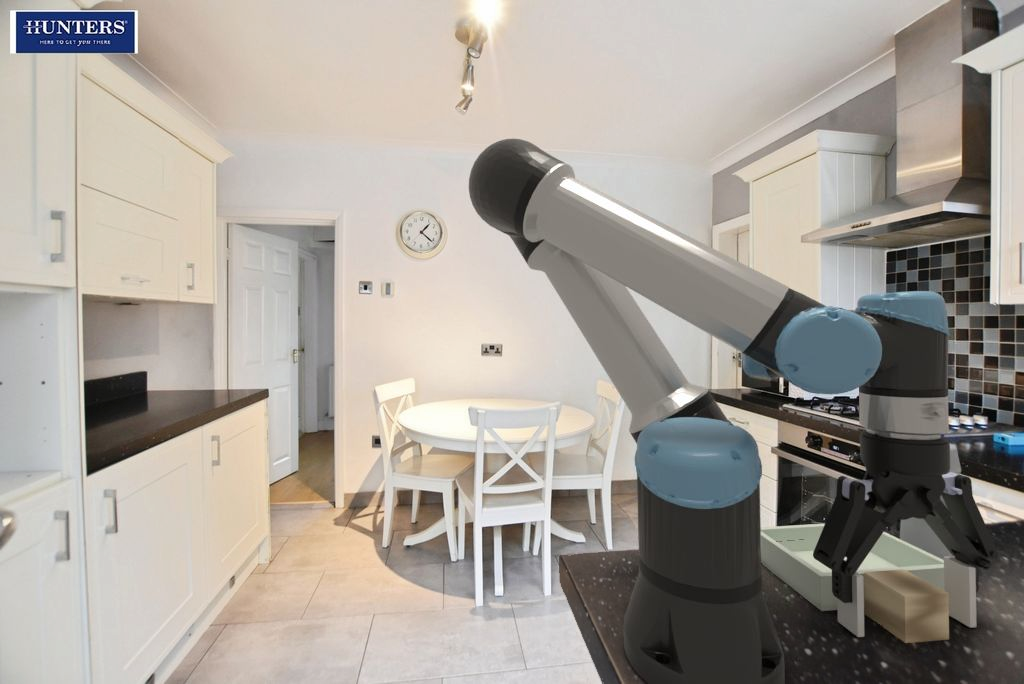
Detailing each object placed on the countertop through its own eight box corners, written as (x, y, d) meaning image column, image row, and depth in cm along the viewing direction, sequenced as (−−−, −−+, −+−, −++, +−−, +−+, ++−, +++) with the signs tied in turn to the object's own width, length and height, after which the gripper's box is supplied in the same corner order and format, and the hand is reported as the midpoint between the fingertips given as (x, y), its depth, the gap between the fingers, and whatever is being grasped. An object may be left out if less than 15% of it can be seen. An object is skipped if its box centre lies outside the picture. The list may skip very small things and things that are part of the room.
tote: (821, 611, 53) (821, 576, 53) (751, 555, 67) (750, 528, 67) (958, 600, 55) (958, 566, 55) (862, 548, 68) (861, 521, 68)
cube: (905, 643, 47) (904, 596, 47) (864, 614, 52) (864, 572, 52) (949, 640, 48) (948, 593, 48) (904, 611, 53) (903, 569, 53)
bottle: (975, 576, 60) (973, 425, 59) (914, 570, 61) (912, 424, 61) (943, 552, 66) (940, 416, 66) (888, 548, 68) (886, 415, 68)
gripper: (824, 445, 45) (828, 657, 45) (1045, 434, 47) (1048, 637, 47) (774, 429, 53) (778, 612, 53) (967, 421, 55) (970, 597, 55)
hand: (906, 624), depth 50 cm, fingers open, 12 cm apart
